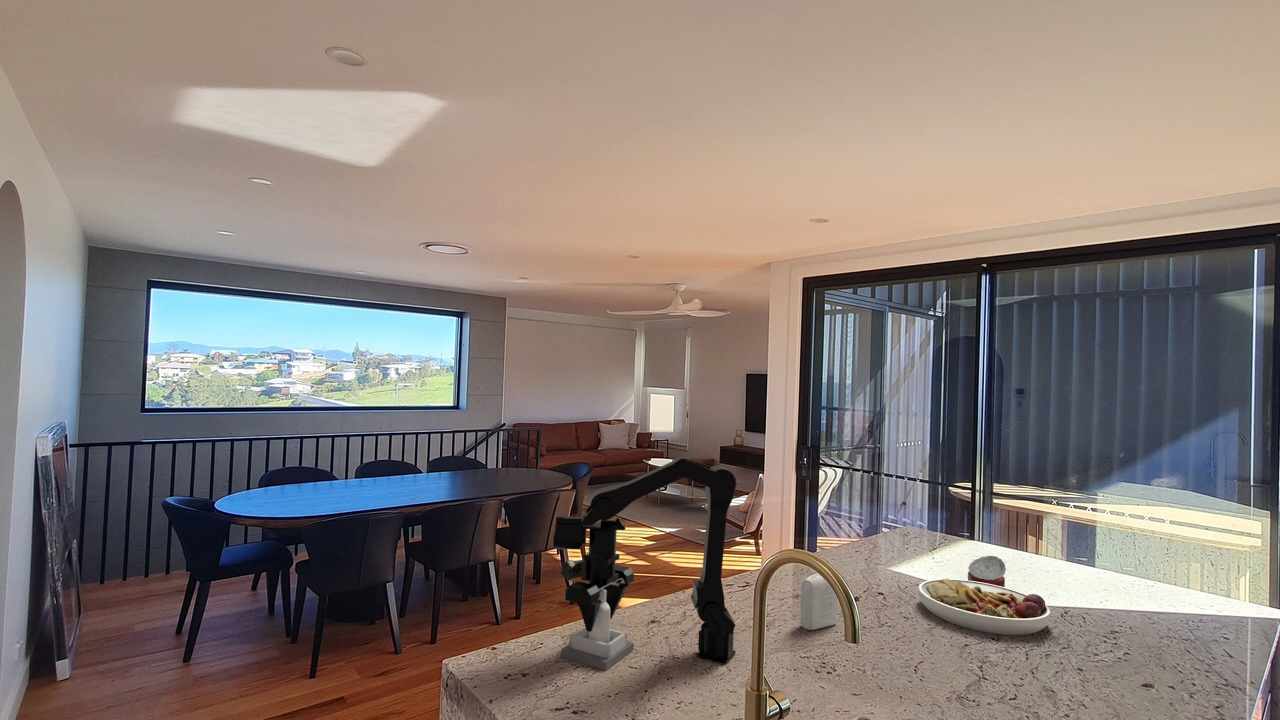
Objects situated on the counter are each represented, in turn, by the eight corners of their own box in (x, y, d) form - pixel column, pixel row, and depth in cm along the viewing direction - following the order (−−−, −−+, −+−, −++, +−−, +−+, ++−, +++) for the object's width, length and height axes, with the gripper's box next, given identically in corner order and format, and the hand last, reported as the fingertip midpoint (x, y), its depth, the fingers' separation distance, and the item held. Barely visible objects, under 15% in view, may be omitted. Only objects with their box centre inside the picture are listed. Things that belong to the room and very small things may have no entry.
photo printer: (825, 618, 152) (827, 568, 152) (839, 624, 148) (841, 573, 149) (797, 626, 146) (799, 574, 147) (811, 632, 143) (813, 579, 143)
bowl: (921, 626, 150) (922, 593, 151) (915, 589, 178) (916, 562, 179) (1064, 650, 139) (1065, 615, 140) (1034, 607, 167) (1035, 579, 167)
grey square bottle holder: (633, 650, 129) (634, 631, 129) (606, 670, 119) (607, 650, 120) (590, 638, 134) (590, 619, 135) (560, 656, 125) (561, 636, 125)
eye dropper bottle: (587, 647, 124) (590, 588, 125) (588, 636, 130) (590, 579, 130) (609, 647, 124) (611, 588, 125) (608, 636, 130) (611, 579, 130)
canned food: (1005, 604, 182) (1018, 579, 178) (972, 599, 182) (984, 574, 178) (988, 576, 192) (1000, 552, 188) (957, 571, 193) (968, 547, 188)
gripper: (594, 535, 140) (591, 603, 139) (544, 553, 123) (541, 631, 123) (636, 542, 135) (633, 613, 134) (590, 562, 118) (587, 644, 117)
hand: (599, 624), depth 127 cm, fingers closed on eye dropper bottle, 7 cm apart
